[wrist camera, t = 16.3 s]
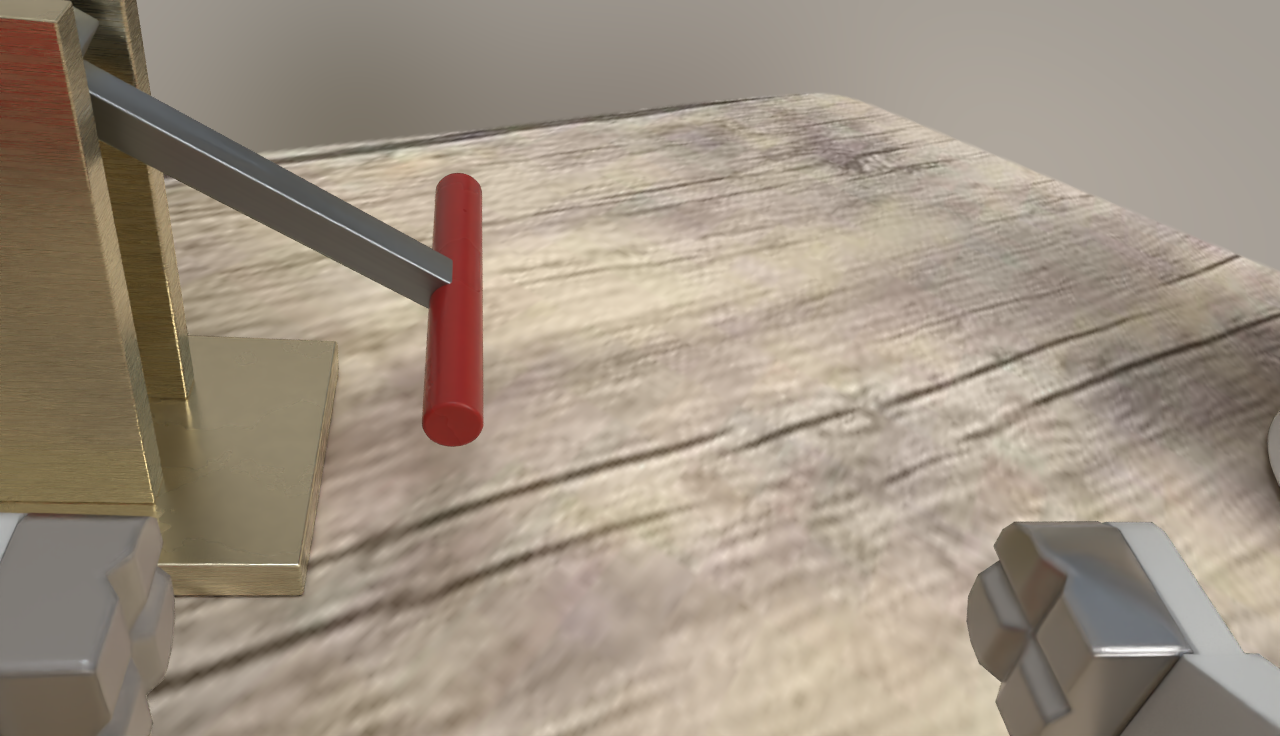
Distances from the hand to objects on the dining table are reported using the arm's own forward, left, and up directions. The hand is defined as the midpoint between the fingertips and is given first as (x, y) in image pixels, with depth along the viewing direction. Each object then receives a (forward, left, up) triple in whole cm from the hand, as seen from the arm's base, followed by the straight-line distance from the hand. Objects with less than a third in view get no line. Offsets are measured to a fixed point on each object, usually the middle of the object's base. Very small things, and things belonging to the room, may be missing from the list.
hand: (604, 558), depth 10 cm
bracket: (+11, -15, -14) cm, 24 cm away
